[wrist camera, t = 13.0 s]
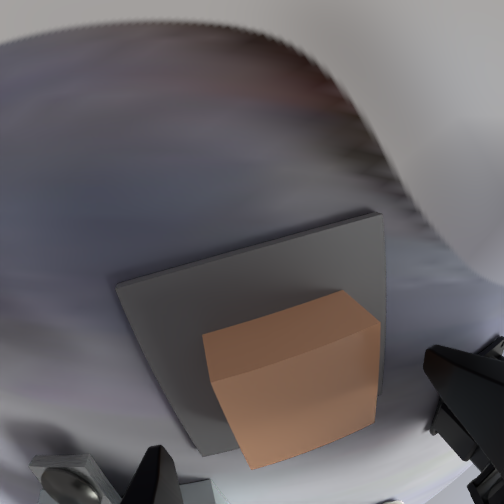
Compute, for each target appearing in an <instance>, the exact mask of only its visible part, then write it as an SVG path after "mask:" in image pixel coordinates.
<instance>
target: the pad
mask: <svg viewBox="0 0 504 504" xmlns="http://www.w3.org/2000/svg"><path fill="white" fill-rule="evenodd" d="M115 290H116V292H117V295H118V297H119V300H120V302H121V305H122V307H123V309H124V312H125V314H126V316H127V319H128V321H129V323H130V325H131V328H132V330H133V332H134V334H135V336H136V339H137V341H138V343H139V345H140V347H141V349H142V351H143V353H144V355H145V357H146V359H147V361H148V363H149V365H150V367H151V369H152V371H153V373H154V375H155V377H156V379H157V381H158V383H159V385H160V387H161V388H162V390H163V392H164V394H165V396H166V398H167V399H168V401H169V403H170V405H171V406H172V408H173V410H174V412H175V413H176V415H177V417H178V418H179V420H180V422H181V424H182V425H183V427H184V428H185V430H186V432H187V433H188V435H189V437H190V438H191V440H192V441H193V443H194V445H195V446H196V448H197V449H198V451H199V452H200V454H201V455H202V457H205V456H210V455H214V454H218V453H223V452H227V451H231V450H235V449H238V448H240V446H239V444H238V442H237V440H236V438H235V436H234V434H233V432H232V430H231V428H230V425H229V423H228V421H227V419H226V417H225V414H224V412H223V410H222V408H221V406H220V403H219V401H218V399H217V396H216V394H215V392H214V390H213V387H212V385H211V382H210V377H209V372H208V366H207V361H206V355H205V349H204V344H203V338H202V335H203V334H206V333H210V332H213V331H217V330H220V329H224V328H227V327H230V326H234V325H237V324H240V323H244V322H247V321H250V320H254V319H257V318H260V317H263V316H266V315H270V314H273V313H276V312H279V311H282V310H285V309H288V308H291V307H294V306H297V305H300V304H303V303H306V302H309V301H312V300H315V299H318V298H321V297H324V296H326V295H329V294H332V293H335V292H338V291H341V290H344V291H345V292H346V293H347V294H348V295H349V296H351V297H352V298H353V299H354V300H355V301H356V302H358V303H359V304H360V305H361V306H362V307H363V308H365V309H366V310H367V311H368V312H369V313H370V314H372V315H373V316H374V317H375V318H376V319H377V320H378V321H380V322H381V328H380V360H379V377H378V391H377V396H379V395H381V392H382V382H383V369H384V354H385V333H386V261H385V240H384V224H383V214H381V213H378V212H373V213H370V214H366V215H362V216H359V217H355V218H351V219H348V220H344V221H340V222H337V223H333V224H329V225H326V226H322V227H318V228H315V229H311V230H307V231H304V232H300V233H296V234H293V235H289V236H286V237H282V238H278V239H275V240H271V241H267V242H264V243H260V244H257V245H253V246H249V247H246V248H242V249H239V250H235V251H231V252H228V253H224V254H221V255H217V256H214V257H210V258H206V259H203V260H199V261H196V262H192V263H189V264H185V265H181V266H178V267H174V268H171V269H167V270H164V271H160V272H157V273H153V274H150V275H146V276H142V277H139V278H135V279H132V280H128V281H125V282H121V283H118V284H117V286H116V288H115Z"/></svg>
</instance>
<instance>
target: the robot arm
mask: <svg viewBox="0 0 504 504" xmlns="http://www.w3.org/2000/svg"><path fill="white" fill-rule="evenodd" d="M503 350H504V337H503V336H501V337H499V338H498V339H497V340H496V341H495V342H493V343H492V344H491V345H490V346H488V347H487V348H486V349H485V350H483V351H482V352H481V353H479V354H478V355H476V354H472V353H468V352H464V351H460V350H456V349H453V348H449V347H445V346H441V345H437V344H436V345H433V346H431V347H429V348H428V349H427V350H426V352H425V358H424V363H423V369H424V372H425V373H426V375H427V376H428V378H429V379H430V381H431V383H432V384H433V386H434V387H435V389H436V390H437V392H438V393H439V395H440V397H441V398H440V401H439V404H438V408H437V411H436V414H435V417H434V420H433V423H432V425H431V428H430V433H431V434H432V435H436V434H437V433H439V434H440V436H441V437H442V438H443V439H444V440H445V441H446V442H447V443H448V444H449V446H450V447H451V448H452V449H453V450H454V451H455V452H456V453H457V455H458V456H459V457H460V458H461V459H462V460H463V461H468V460H469V459H470V460H471V461H472V463H473V464H474V465H475V466H476V467H477V468H478V469H479V470H480V471H481V474H480V475H479V476H478V477H477V478H475V479H474V480H472V481H471V482H470V483H469V484H468V485H467V488H468V490H469V492H470V495H471V497H472V499H473V501H474V503H475V504H504V357H503V356H502V353H503ZM120 504H184V503H183V498H182V494H181V490H180V486H179V482H178V478H177V473H176V469H175V465H174V461H173V459H172V457H171V456H170V455H169V453H168V452H167V451H166V450H165V448H164V447H163V446H162V445H156V446H150V447H149V448H148V449H147V451H146V453H145V455H144V457H143V459H142V461H141V463H140V465H139V467H138V469H137V471H136V473H135V475H134V477H133V479H132V481H131V483H130V485H129V487H128V489H127V491H126V493H125V495H124V497H123V498H122V500H121V502H120Z"/></svg>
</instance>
